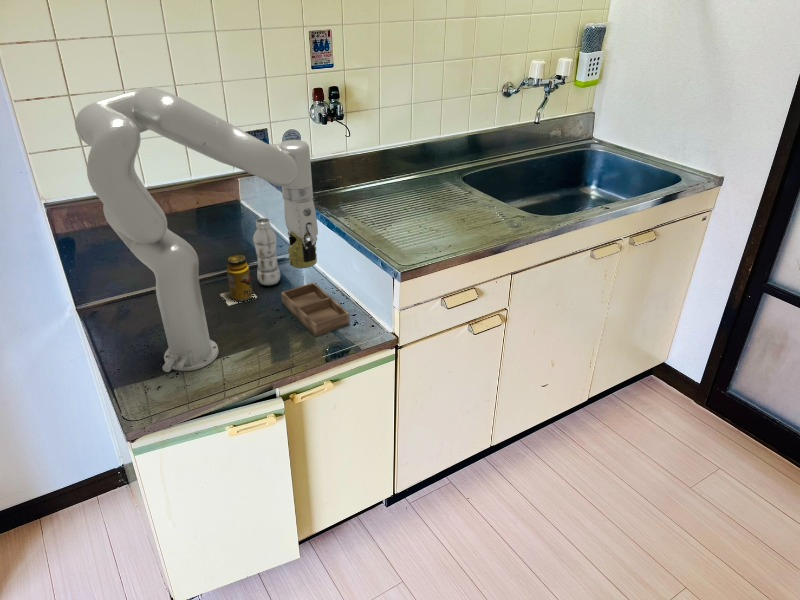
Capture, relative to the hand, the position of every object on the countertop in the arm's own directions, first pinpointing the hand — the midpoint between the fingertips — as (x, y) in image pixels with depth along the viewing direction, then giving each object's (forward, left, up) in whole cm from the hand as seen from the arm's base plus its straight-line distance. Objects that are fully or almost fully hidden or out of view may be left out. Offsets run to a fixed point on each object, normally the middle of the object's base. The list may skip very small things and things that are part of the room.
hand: (302, 254), depth 159 cm
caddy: (-4, -3, -16) cm, 17 cm away
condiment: (+1, +21, -16) cm, 26 cm away
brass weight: (0, 0, -3) cm, 3 cm away
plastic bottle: (+10, +15, -16) cm, 24 cm away
